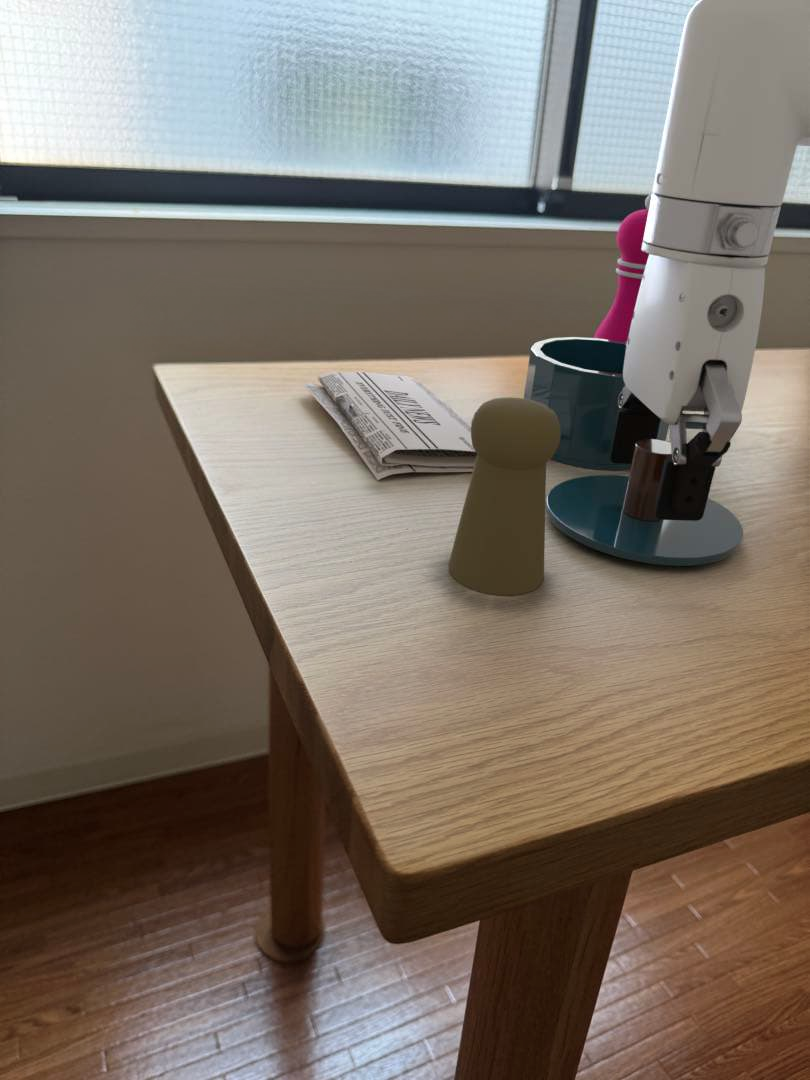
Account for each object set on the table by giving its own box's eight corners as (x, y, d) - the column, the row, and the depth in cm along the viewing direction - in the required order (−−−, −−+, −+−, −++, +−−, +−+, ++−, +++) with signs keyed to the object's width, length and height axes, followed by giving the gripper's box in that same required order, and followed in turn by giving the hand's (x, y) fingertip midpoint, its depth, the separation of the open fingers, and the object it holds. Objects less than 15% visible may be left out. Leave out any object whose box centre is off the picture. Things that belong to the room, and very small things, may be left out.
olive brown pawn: (492, 540, 57) (514, 382, 52) (563, 576, 54) (593, 409, 49) (428, 565, 54) (444, 396, 49) (499, 606, 50) (525, 428, 45)
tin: (634, 423, 83) (651, 341, 79) (683, 473, 71) (705, 380, 68) (507, 417, 81) (518, 333, 78) (537, 467, 70) (551, 372, 66)
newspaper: (298, 391, 84) (301, 366, 83) (414, 400, 88) (418, 376, 87) (360, 479, 64) (365, 448, 63) (504, 485, 69) (511, 456, 68)
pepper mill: (593, 376, 97) (628, 187, 87) (657, 389, 94) (699, 195, 85) (576, 391, 91) (611, 190, 82) (643, 405, 88) (687, 198, 79)
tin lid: (693, 491, 68) (712, 417, 65) (774, 576, 56) (801, 489, 53) (526, 486, 66) (537, 409, 64) (572, 571, 54) (588, 482, 52)
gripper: (842, 258, 45) (757, 547, 53) (709, 218, 60) (659, 446, 68) (706, 250, 44) (640, 544, 52) (607, 211, 59) (568, 442, 67)
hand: (651, 488), depth 60 cm, fingers open, 9 cm apart
